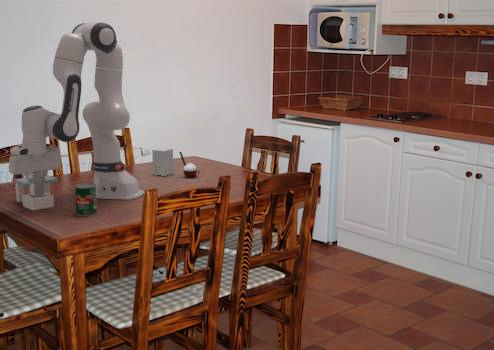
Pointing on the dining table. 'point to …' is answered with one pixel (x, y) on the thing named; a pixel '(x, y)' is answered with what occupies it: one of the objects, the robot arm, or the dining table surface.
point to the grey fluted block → (162, 161)
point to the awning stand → (38, 200)
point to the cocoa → (189, 168)
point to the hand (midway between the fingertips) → (36, 182)
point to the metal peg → (37, 183)
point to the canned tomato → (85, 199)
